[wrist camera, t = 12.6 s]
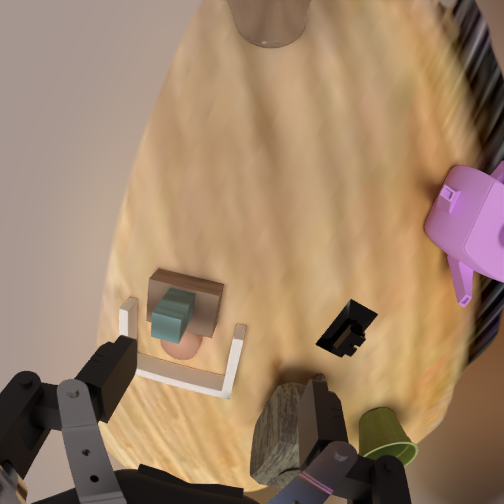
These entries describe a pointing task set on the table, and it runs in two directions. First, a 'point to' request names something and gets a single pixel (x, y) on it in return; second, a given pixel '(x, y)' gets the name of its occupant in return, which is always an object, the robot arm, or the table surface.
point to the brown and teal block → (182, 305)
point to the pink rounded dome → (183, 346)
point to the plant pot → (384, 437)
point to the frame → (180, 373)
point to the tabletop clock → (278, 437)
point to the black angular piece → (347, 330)
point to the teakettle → (470, 226)
